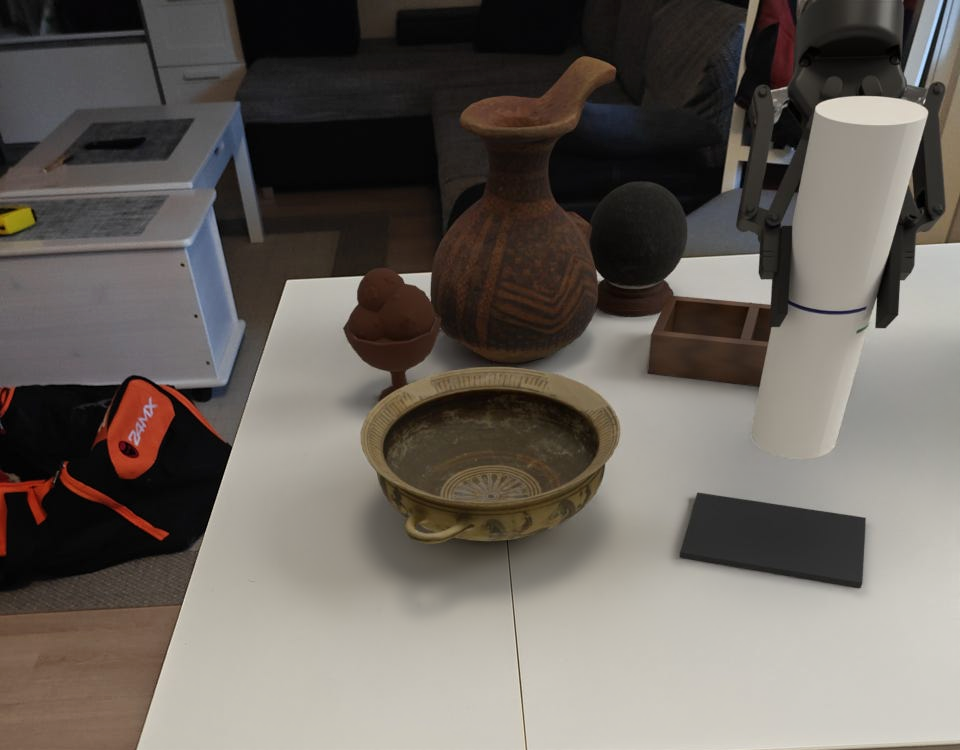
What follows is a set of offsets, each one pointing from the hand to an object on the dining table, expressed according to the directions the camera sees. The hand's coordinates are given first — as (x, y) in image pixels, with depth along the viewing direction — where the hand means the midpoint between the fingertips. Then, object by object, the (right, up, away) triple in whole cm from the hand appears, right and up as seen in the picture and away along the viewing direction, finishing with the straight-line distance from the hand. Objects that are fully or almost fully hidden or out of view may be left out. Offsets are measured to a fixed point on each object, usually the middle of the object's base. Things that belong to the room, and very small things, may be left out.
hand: (832, 320), depth 65 cm
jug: (-21, +15, +50) cm, 57 cm away
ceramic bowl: (-25, -11, +23) cm, 36 cm away
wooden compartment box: (+6, +11, +43) cm, 45 cm away
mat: (+2, -14, +18) cm, 23 cm away
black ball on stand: (-5, +24, +57) cm, 62 cm away
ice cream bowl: (-36, +5, +40) cm, 54 cm away
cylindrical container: (+1, -6, +11) cm, 13 cm away
